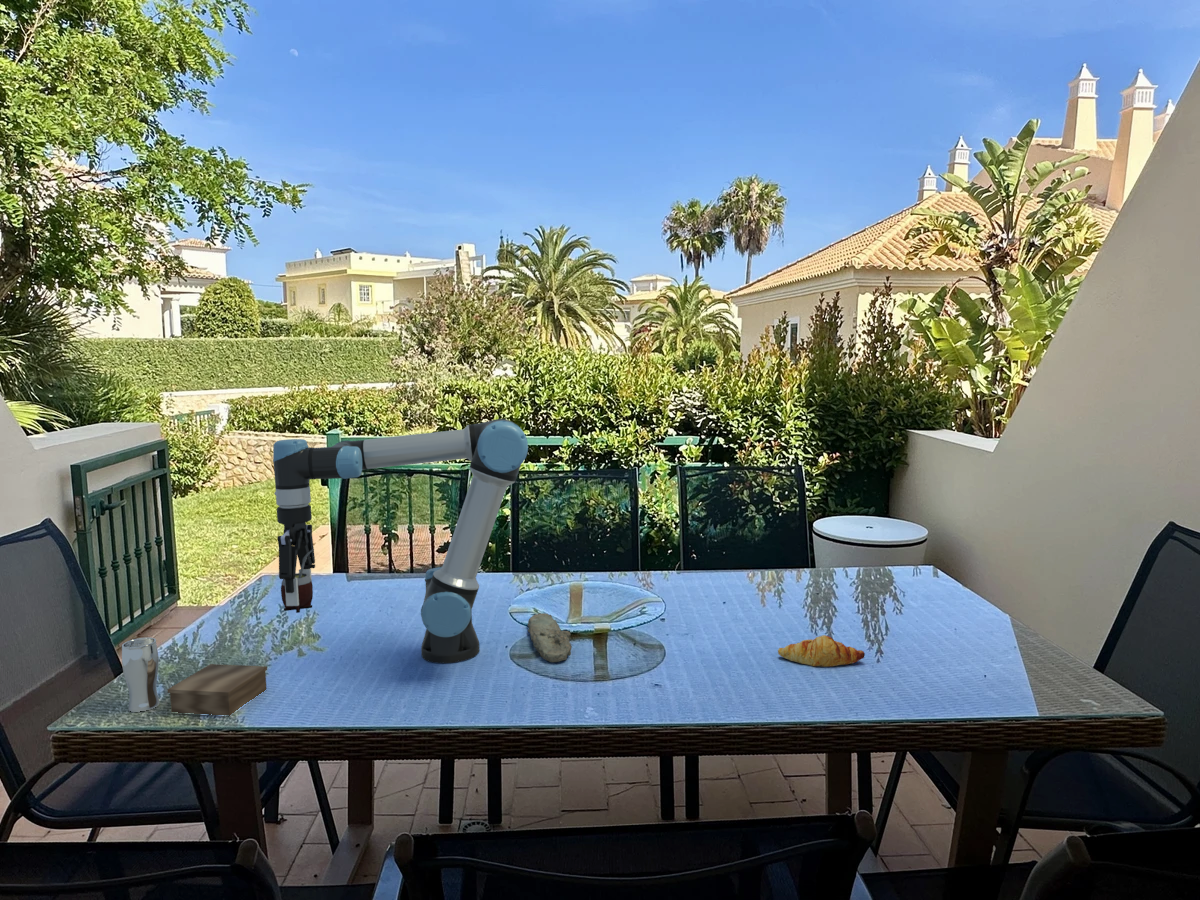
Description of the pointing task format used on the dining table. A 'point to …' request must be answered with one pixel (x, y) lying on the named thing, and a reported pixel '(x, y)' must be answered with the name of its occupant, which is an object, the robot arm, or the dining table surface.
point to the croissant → (821, 652)
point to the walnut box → (218, 689)
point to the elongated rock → (549, 638)
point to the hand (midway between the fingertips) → (299, 600)
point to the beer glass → (141, 673)
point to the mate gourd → (300, 590)
